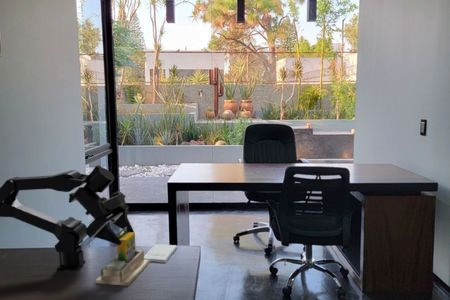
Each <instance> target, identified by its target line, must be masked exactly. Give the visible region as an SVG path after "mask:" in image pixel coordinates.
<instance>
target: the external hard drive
mask: <svg viewBox="0 0 450 300" xmlns="http://www.w3.org/2000/svg"><path fill="white" fill-rule="evenodd" d="M177 249H178V246H177V245H176V244H173V245H172V244H162V243H161V244H158V243H157V244H156V243H155V244H154V245H153V246H152V247H151V248H150V250H148V252H147V253H146V254H145V255H144V260H149V263H150V262H153V263H164V264H165V263H167V262H168V260H169V259H170V257H171V256H172V255H173V254H174V253H175V251H176V250H177Z"/></svg>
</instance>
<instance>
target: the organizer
mask: <svg viewBox="0 0 450 300" xmlns="http://www.w3.org/2000/svg"><path fill="white" fill-rule="evenodd" d="M135 253H136V256H135V257H134V258H133V259H132V260H131V261H130V262H129V263H125V261H118V255H116V256H115V257H114V258H113V259H112V260H110V261H109V262H108V263H107V264H106V265H105V266H104V267H103V268H102V269H100V275H99V276H98V277H97V278H96V279H95V283H96V284H102V285H111V286H114V285H115V286H116V285H117V286H125V287H127V286H130V284H131V283H133V282H134V280H135V279H136V278H137V277H138V276H139V275H140V273H141V272H142V271H143V270H144V269H145V268H146V267H147V265H148V264H150V262H149V260H144V256H145V255H144V253H145V252H144V250H140V249H139V250H138V249H137V250H136V249H135Z"/></svg>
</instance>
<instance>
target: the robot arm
mask: <svg viewBox="0 0 450 300" xmlns="http://www.w3.org/2000/svg"><path fill="white" fill-rule="evenodd" d="M114 181H115V176H114V174H113V173H112V172H111V170H108V169H107V168H105V167H102V166H101V165H99V164H97V165H96V166H95V167H94V168H93V169H92V171H91V172H90V173H89V174H85V173H80V171H78V170H76V169H72V170H71V169H70V170H68V171H64V172H60V173H56V174H52V175H39V176H37V175H36V176H22V177H21V176H14V177H11V178H8V179H7V180H5V182H4V183H3V184H2V186H0V218H13V219H15V220H18V221H20V222H23V223H26V224H27V225H30V226H32V227H35V228H38V229H41V230H43V231H45V232H48V233H51V235H52V234H53V236H54V237H55V238H56V239H57V241H58V242H57V243H56V244H55V245H54V249H55V251H56V252H57V253H58V255H59V257H58V261H59V265H58V266H57V267H56V269H58V270H68V271H69V270H71V271H75V270H78V269H79V268H80V267H81V266H83V264H85V263H86V260H84V251H83V250H82V249H83V248H82V245H81V244H82V243H84V239H85V238H86V237H87V236H88V237H89V238H92V237H93V239H99V240H103V241H107V242H109V243H112V244H114V245H120V244H121V243H122V242H121V241H120V239H119V238H118V237H117V233H115V232H114V230H113V229H112V228H111V226H112V225H111V222H113V225H115V226H116V227H119V229H120V230H122V229H124V228H125V227H126V226H127V232H135V230H134V228H133V227H132V225H131V222H130V220H129V218H128V213H129V208H130V206H129V205H127V204H126V203H127V202H126V195H125V194H124V193H123V192H121V191H120V190H118V191H116V192H114V193H113V194H112V195H113V196H112V197H110V198H109V199H108V198H106V197H105V196H103V197H101V196H100V195H99V194H98V193H103V192H104V191H105V190H106V189H107V188H108V187H109V186H110V185H111V184H112V183H113V182H114ZM82 185H84V186H83V187H82ZM80 186H81V187H80ZM75 189H76V190H75ZM33 190H34V191H35V190H53V191H55V192H60V193H61V192H62V193H69V192H71V191H74V190H75V191H74V192H71V193H69V194H68V195H69V196H68V197H69V198H68V203H72V202H76V201H77V202H78V203H79V204H80V205H81V206H82V207H83V208H84V209H85V212H84V214H85V215H86V216H89V215H90V216H91V218H93V219H94V220H93V221H92V222H90V224H89V225H86V224H85V223H83V220H78V219H76V218H74V217H73V216H69V217H68V218H67V219H63V220H62V219H59V218H57V217H54V216H52V215H50V214H47V213H44V212H41V211H39V210H36V209H34V208H31V207H29V206H27V205H24V204H22V203H21V202H20V201H19V199H18V198H17V197H18V195H19V192H20V191H33Z"/></svg>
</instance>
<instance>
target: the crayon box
mask: <svg viewBox="0 0 450 300" xmlns="http://www.w3.org/2000/svg"><path fill="white" fill-rule="evenodd" d="M116 236H117V237H118V238H119V239H120V241H121V242H122V243H121V244H120V245H117V244H116V245H117V247H116V248H117V256H118V261H125V263H129V262H130V261H131V260H132V259H133V258H134V257H135V256H136V253H135V250H136V233H135V231H134V232H127V226H126V227H125V228H124V229H120V230H119V232H117V233H116Z"/></svg>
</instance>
